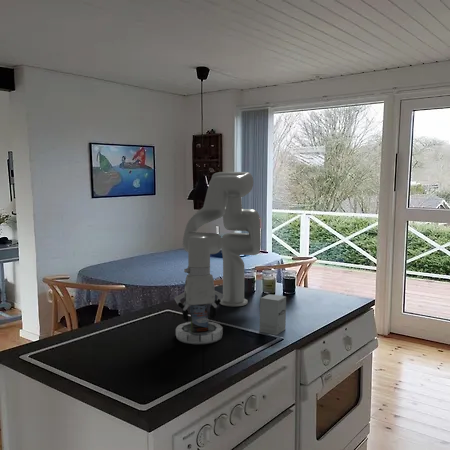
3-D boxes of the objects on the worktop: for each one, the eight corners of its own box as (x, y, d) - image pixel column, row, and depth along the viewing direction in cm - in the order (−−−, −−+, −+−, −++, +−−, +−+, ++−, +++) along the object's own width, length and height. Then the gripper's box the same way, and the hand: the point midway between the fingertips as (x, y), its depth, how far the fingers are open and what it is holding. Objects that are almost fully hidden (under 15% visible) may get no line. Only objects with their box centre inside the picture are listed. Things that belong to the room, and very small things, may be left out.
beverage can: (195, 337, 156) (194, 302, 155) (187, 332, 163) (186, 298, 162) (212, 334, 159) (211, 300, 158) (204, 329, 165) (203, 296, 165)
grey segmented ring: (171, 331, 165) (171, 323, 165) (213, 327, 171) (213, 319, 170) (182, 346, 150) (182, 337, 150) (228, 341, 156) (228, 332, 155)
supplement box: (277, 335, 162) (278, 300, 161) (258, 331, 166) (259, 297, 164) (286, 329, 168) (286, 296, 167) (268, 326, 172) (268, 293, 171)
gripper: (177, 274, 152) (177, 325, 153) (226, 271, 158) (226, 320, 159) (172, 270, 159) (172, 318, 160) (219, 267, 165) (219, 314, 166)
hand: (199, 319), depth 160 cm, fingers open, 9 cm apart
